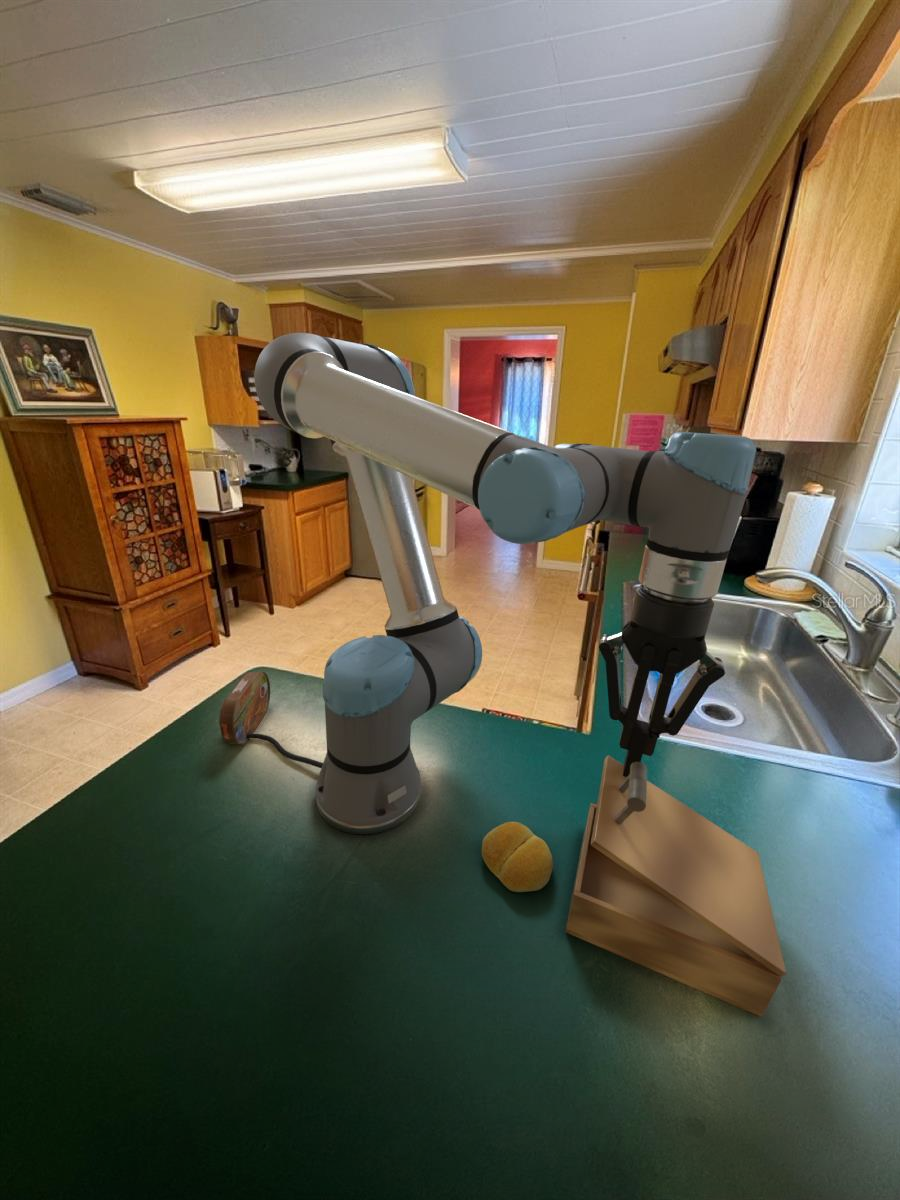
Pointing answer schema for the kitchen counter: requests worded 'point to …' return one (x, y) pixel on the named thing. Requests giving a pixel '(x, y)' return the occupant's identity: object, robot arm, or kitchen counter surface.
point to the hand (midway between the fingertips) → (630, 770)
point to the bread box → (660, 932)
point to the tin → (244, 707)
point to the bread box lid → (686, 860)
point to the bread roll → (517, 857)
